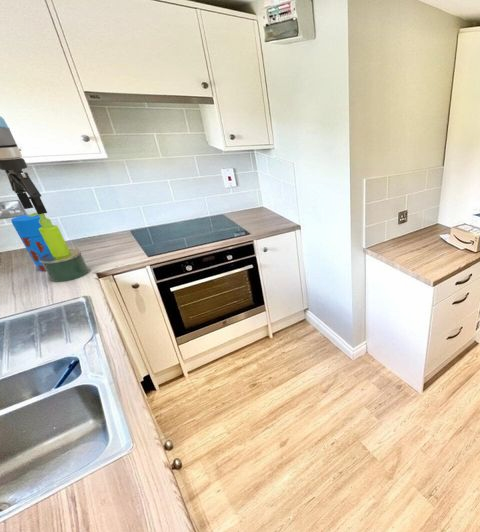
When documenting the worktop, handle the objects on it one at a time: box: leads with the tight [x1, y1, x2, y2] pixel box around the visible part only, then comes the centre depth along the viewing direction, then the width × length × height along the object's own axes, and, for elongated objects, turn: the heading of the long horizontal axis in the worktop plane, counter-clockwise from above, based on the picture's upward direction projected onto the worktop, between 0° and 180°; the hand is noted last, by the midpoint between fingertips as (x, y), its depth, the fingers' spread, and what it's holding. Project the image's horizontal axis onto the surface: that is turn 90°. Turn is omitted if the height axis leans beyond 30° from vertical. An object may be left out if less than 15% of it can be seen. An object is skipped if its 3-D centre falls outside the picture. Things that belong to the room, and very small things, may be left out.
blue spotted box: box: [10, 214, 51, 272], centre depth 152 cm, size 11×11×25 cm
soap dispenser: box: [27, 212, 70, 257], centre depth 141 cm, size 6×7×20 cm
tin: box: [39, 248, 90, 283], centre depth 148 cm, size 14×14×10 cm
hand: (35, 210), depth 135 cm, fingers open, 13 cm apart
